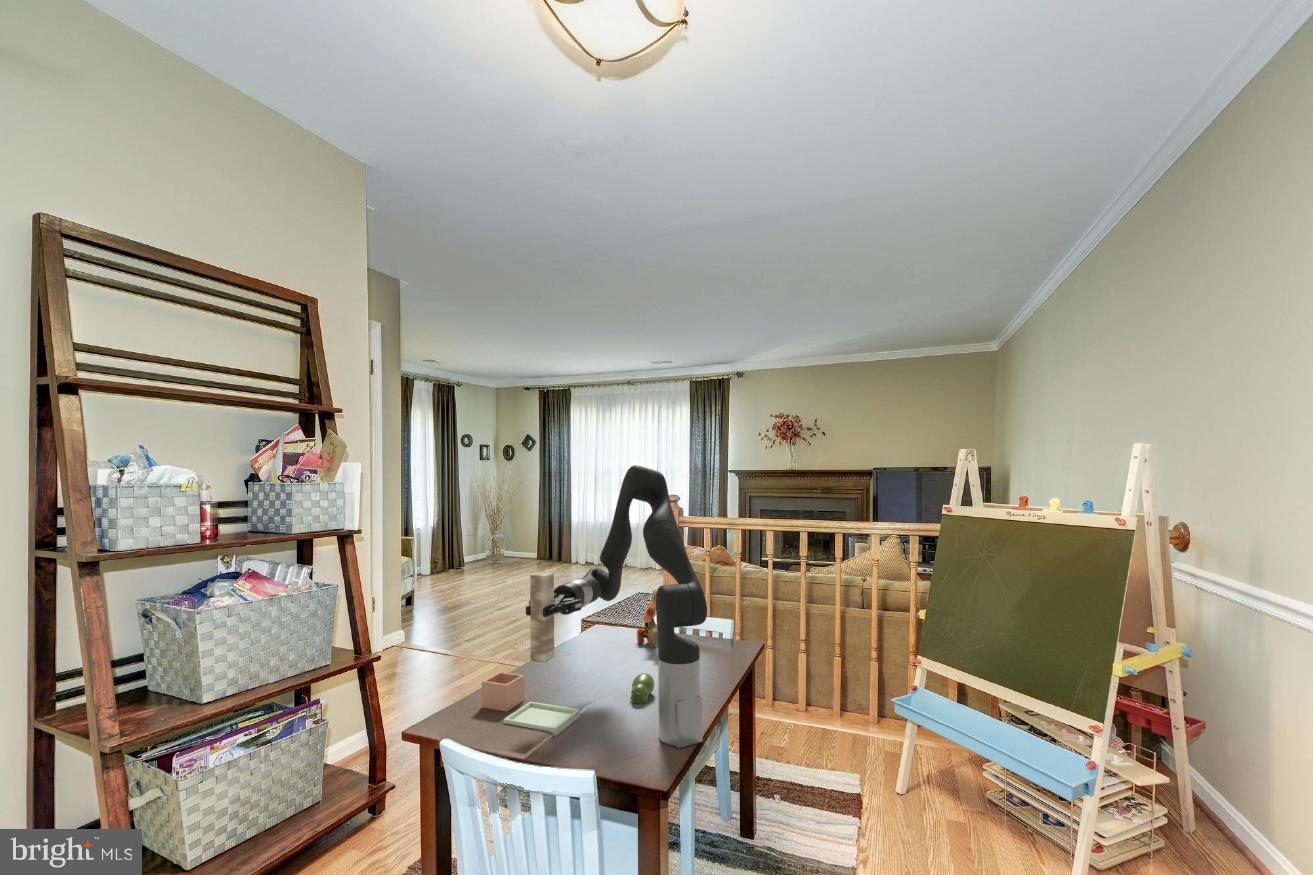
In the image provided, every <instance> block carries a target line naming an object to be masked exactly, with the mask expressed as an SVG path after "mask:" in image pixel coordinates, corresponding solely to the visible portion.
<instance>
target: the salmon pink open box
mask: <svg viewBox="0 0 1313 875" xmlns="http://www.w3.org/2000/svg"><path fill="white" fill-rule="evenodd" d="M525 680H526V678H525V674H520V673H519V674H518V673H517V674H516V673H511V672H504V671H503V672H502V671H499V672H497V673H496V674H493V675H492V676H489V677H488V678H486V679H484V680H482V681H481V708H483V709H488V710H495V711H502V712H509V711H510V710H512V709H513V708H515V707H517V706H518V705H520V704H522V703H523V702H525V700H526V698H525V697H526V696H525V689H526V688H525V686H526V685H525V683H526V682H525Z"/></svg>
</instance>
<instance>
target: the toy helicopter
mask: <svg viewBox="0 0 1313 875" xmlns="http://www.w3.org/2000/svg"><path fill="white" fill-rule="evenodd" d="M655 617H656V601H651V602H649V604H648V606H647V609H646V610H645V612H644V616H643V618H642V621H643V622H644V628H638V629H637V630H636V638H637V639H636V640H637V643H638V645H643V644H644V643H645V639H646V640H647V643H648V644H649V648H650V649H651V648H652V649H653V648H654V649H655V648H657V647H658V640H657V623H656V621H655Z"/></svg>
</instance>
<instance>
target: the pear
mask: <svg viewBox="0 0 1313 875" xmlns="http://www.w3.org/2000/svg"><path fill="white" fill-rule="evenodd" d="M654 688H655V680H654V677H653V676H652V675H651V674H649V673H646V672H642V673H639V674H638V675H636V677H635V678H634V680H633V682H632V684H631V691H630V692H631V696H630V701H631V704H639V705H644V704H646V703H647V702H648V701H649V695H650V694H652V692H653V691H654Z"/></svg>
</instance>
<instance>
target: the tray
mask: <svg viewBox="0 0 1313 875" xmlns="http://www.w3.org/2000/svg"><path fill="white" fill-rule="evenodd" d="M580 717H581V709H579V708H574V707H573V708H572V707H566V706H561V705H560V706H559V705H555V704H549V703H548V704H547V703H541V702H535V701H529V702H527V703H526V704H525V705H523V706H522V707H520V708H518V709H517V710H516V711H514V712H511V714H510V715H507V716H506V717H504V718H503V724H507V725H508V724H509V725H513V726H518V727H519V726H520V727H524V728H530V729H535V730H540V731H546V732H550V733H549V735H550V736H555V737H556V736H558V735H559V734H560V733H562V732H563V731H564V730H565V729H567V728H568V727H569V726H570V725H571V724H573V723H574V722H575V721H576V720H578V719H579V718H580Z"/></svg>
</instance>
